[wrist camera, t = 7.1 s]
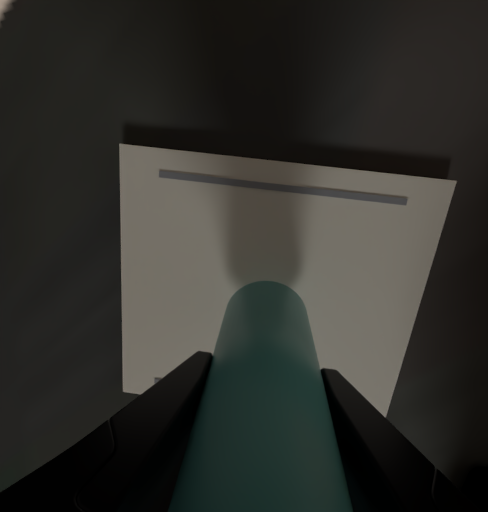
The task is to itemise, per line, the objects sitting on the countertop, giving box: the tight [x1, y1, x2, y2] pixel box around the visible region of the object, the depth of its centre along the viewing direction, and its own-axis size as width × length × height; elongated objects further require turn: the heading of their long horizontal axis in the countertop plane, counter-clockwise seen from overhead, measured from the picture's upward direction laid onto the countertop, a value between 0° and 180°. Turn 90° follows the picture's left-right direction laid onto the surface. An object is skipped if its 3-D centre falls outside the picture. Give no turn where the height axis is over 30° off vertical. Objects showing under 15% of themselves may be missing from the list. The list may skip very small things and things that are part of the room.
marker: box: [168, 281, 354, 512], centre depth 7 cm, size 3×3×10 cm
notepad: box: [119, 144, 457, 418], centre depth 13 cm, size 12×11×1 cm
